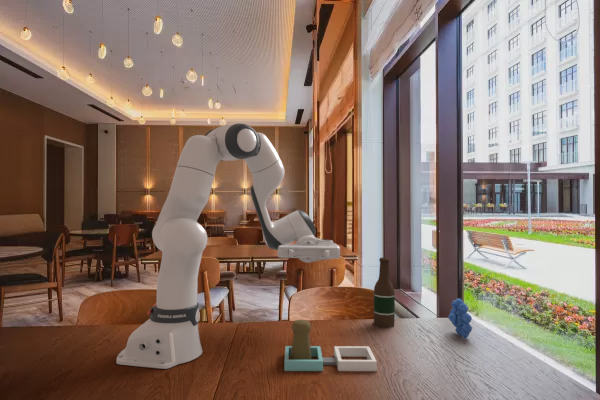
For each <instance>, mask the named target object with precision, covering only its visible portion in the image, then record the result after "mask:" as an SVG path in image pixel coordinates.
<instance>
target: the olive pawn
mask: <svg viewBox="0 0 600 400" xmlns="http://www.w3.org/2000/svg"><path fill="white" fill-rule="evenodd" d="M291 329H292V332H293V338H292V343H291V344H292V345H291V346H292V349H291V356H289V360H313V359H312V356H311V349H310V346H311V341H310V332H311V331H312V330H311V329H312V324H311V322H310V321H308V320H307V319H306V320H305V319H296V320H294V321H293V322H292V325H291Z"/></svg>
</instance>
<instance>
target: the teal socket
mask: <svg viewBox="0 0 600 400" xmlns="http://www.w3.org/2000/svg"><path fill="white" fill-rule="evenodd" d="M284 348H285V349H284V360H283V361H284V362H283V363H284V366H283V367H284V368H283V369H284V372H324V365H323V358H322V357H323V353H322V348H321V346H320V345H313V346H311V345H310V349H311V357H316V358H317V359H312V360H290V356H291V349H292V345H285V347H284Z"/></svg>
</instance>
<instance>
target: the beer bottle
mask: <svg viewBox="0 0 600 400" xmlns="http://www.w3.org/2000/svg"><path fill="white" fill-rule="evenodd" d="M389 263H390V258H389V257H379V276H378V280H377V281H376V282H375V285H374V288H373V325H374V326H377V327H379V328H388V329H389V328H392V327H394V326H395V318H396V317H395V312H396V309H395V305H396V301H395V299H396V298H395V297H396V294H395V292H396V291H395V288H394V285H393V283H392V282H391V279H390V265H389Z"/></svg>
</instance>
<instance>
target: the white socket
mask: <svg viewBox="0 0 600 400" xmlns="http://www.w3.org/2000/svg"><path fill="white" fill-rule="evenodd" d="M333 351H334V352H333V355H334V357H333V356H332V357H330V356H329V357H325V356H322V358H323V366H336V368H337V371H338V372H378V361H377V359H376V357H375V355H374V353H373V351H372V349H371V348H370V346H367V345H365V346H364V345H363V346H359V345H355V346H353V345H347V346H345V345H344V346H343V345H342V346H341V345H340V346H339V345H338V346H336V345H334V346H333ZM342 357H344V358H345V357H347V358H349V357H350V358H351V357H353V358H354V357H357V358H358V357H360V358H361V357H364V358H365V357H366V359H342Z"/></svg>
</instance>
